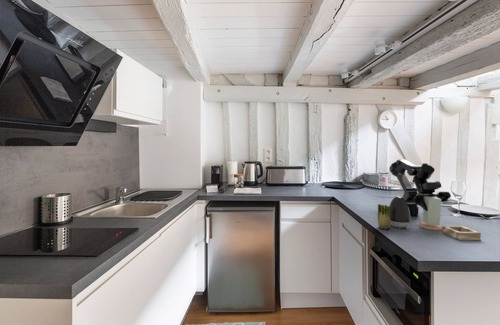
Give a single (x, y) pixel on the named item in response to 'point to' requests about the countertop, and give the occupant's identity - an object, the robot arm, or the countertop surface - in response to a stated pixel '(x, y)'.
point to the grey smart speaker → (399, 213)
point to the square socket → (461, 232)
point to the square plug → (432, 210)
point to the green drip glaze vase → (383, 216)
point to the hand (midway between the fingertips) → (433, 211)
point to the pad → (430, 226)
